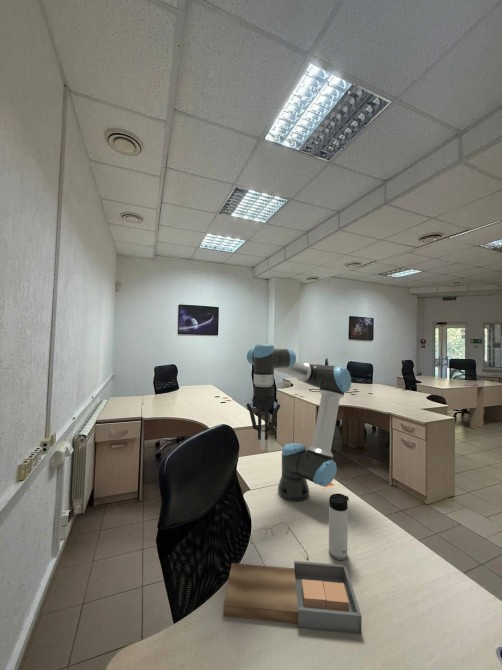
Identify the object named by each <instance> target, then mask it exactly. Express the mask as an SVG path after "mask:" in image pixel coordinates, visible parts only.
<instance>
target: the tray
mask: <svg viewBox="0 0 502 670" xmlns="http://www.w3.org/2000/svg"><path fill="white" fill-rule="evenodd" d="M293 564H294V565H293V568H294V569H295V581H296V593H297V604H298V623H297V627H298V628H301V629H310V630H321V631H327V632H328V631H330V632H340V633H348V634H361V635H362V613H361V609H360V607H359V602H358V600H357V598H356V593H355V591H354V586H353V584H352V580H351V578H350V575H349V571H348V568H347V566H346V564H337V563H323V562H311V561H310V562H309V561H300V560H299V561H298V560H294V561H293ZM302 580H316V581H322V583H323V582H335V583H344V587H345V590H346V594H347V597H348V601H349V612H345V611H335V610H327V609H319V608H306V607H304V602H303V594H302Z"/></svg>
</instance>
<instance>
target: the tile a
mask: <svg viewBox="0 0 502 670" xmlns="http://www.w3.org/2000/svg"><path fill="white" fill-rule="evenodd" d="M302 594H303V602H304V607H306V608H319V609H326V597H325V592H324V587H323V583H322V581H316V580H302Z"/></svg>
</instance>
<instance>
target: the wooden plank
mask: <svg viewBox="0 0 502 670" xmlns="http://www.w3.org/2000/svg"><path fill="white" fill-rule="evenodd" d="M228 575H229V576H228V580H227V585H226V591H225V597H224V601H223V617H230V618H231V617H232V618H241V619H250V620H251V619H252V620H258V621H259V620H260V621H271V622H280V623H289V624H290V623H291V624H298V604H297V593H296V581H295V569H294V567H282V566H272V565H270V566H269V565H265V566H264V565H257V564H249V563H248V564H247V563H246V564H245V563H236V562H235V563H233V562H231V566H230V571H229V574H228Z"/></svg>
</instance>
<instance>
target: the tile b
mask: <svg viewBox="0 0 502 670" xmlns="http://www.w3.org/2000/svg"><path fill="white" fill-rule="evenodd" d="M323 587H324V592H325V597H326V609H327V610H335V611H345V612H349V601H348V597H347V594H346V590H345V587H344V583H335V582H323Z"/></svg>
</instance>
